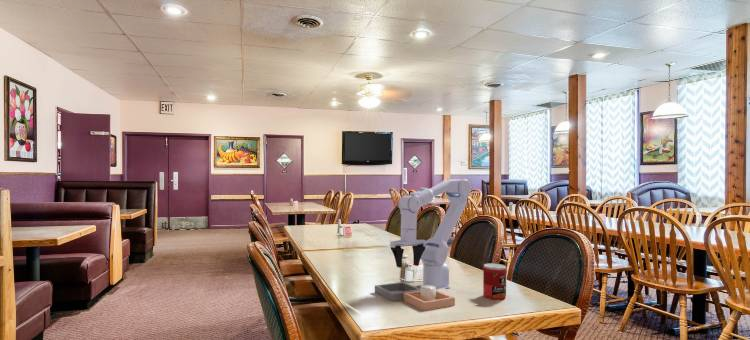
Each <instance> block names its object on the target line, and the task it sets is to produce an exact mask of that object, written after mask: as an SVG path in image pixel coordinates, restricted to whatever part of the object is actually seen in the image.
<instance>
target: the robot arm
mask: <svg viewBox="0 0 750 340" xmlns="http://www.w3.org/2000/svg"><path fill="white" fill-rule="evenodd" d="M471 186H472V185H471V182H470V180H469V179H468V178H450V177H449V178H447V179H442V181H441V182H439V183H437V184H436V185H434V186H432V187H431V188H428V187H419V190H417V191H415V192H414V191H413V192H410V194H409V195H403V196H402V197H400V199H399V202H398V203H397V206H398V208H399V211H400V213H399V214H400V215H401V216H400V239H398V240H392V241H389V242H390V243H389V244H390V245H389V247H390V250H391V251H392V254H393V257H394V260H395V265H396V268H399V269H401V268H402V266H403V254H404V251H405V249H404V248H402V247H412V253H413V254H412V255H413V261H412V263H413V266H416V267H419V265H420V261H421V263H422V283H418V284H417V285H418V286H420V287H421V286H422V285H432V286H435V287H436V290H437V289H450V288H451V286H450V282H449V281H450V269H449V265H448V264H447V263H445V262H446V260H447V258H448V253H449V250H450V249H449V246H448V244H447V243H448V241H449V239H450V237H451V235H452V233H453V231H454V229H455V227H456V226H457V223H458V222H459V220H460V218H461V215H462V214H463V212H464V210H465V208H466V205H467V201H468V198H469V197H470V196H471V195H470V194H471V192H472V187H471ZM444 193H445V195H446V198H447V200H448V202H449V203H450V205H449V206H448V208H447V210H446V212H445V214H444V216H443V218H442V220H441V222H440V223H439V226H438V227H437V229H436V231H435V232H434V234H433V237H430V238H428V239H427V240H426V239H417V229H418V227H417V225H418V223H417V222H418V212H419V211H420V209H421V207H423V206H425V205H427V204H429V203H431V202H433V200H434V197H437V196H440V195H442V194H444Z"/></svg>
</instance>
